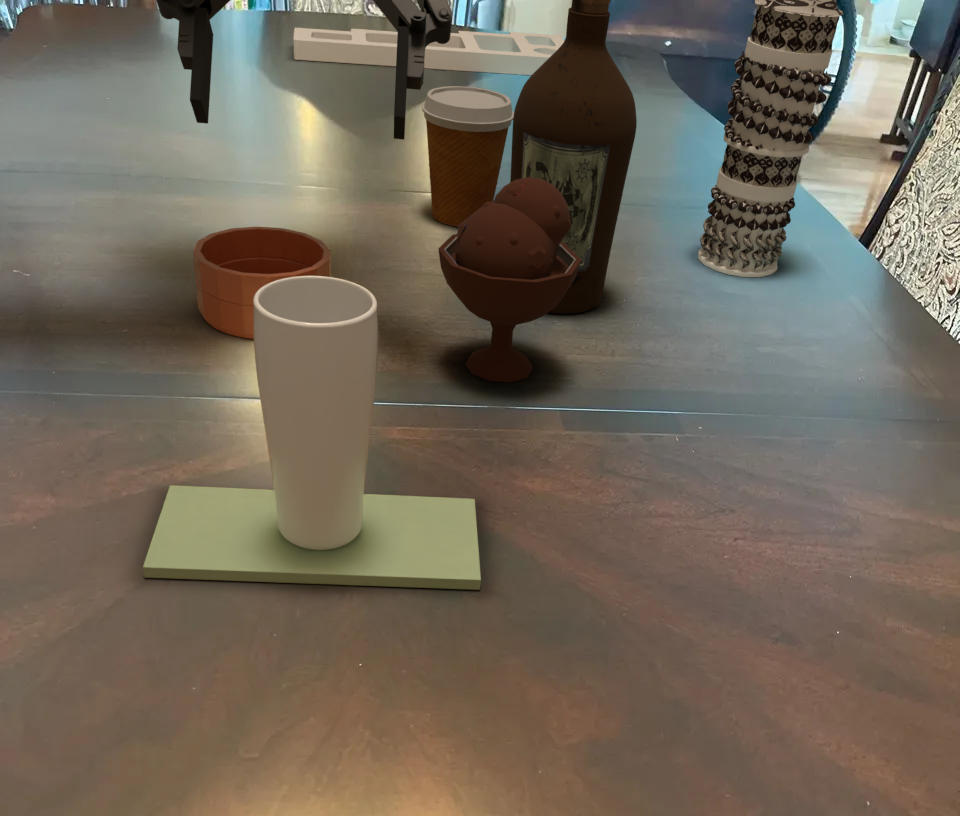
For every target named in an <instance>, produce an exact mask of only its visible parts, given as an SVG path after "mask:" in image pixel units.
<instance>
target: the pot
mask: <svg viewBox="0 0 960 816" xmlns="http://www.w3.org/2000/svg"><path fill="white" fill-rule="evenodd" d="M192 257H193V267H194V268H193V269H194V277H195V289H196V299H197V309H198V310H199V313H200V314H201V316H202V317H203V319H204V321H206V323H207V324H209V325H210V326H211V327H213V328H214V329H215V330H217V331H220V332H222V333H225V334H227V335H231V336H234V337H239V338H244V339H252V340H254V324H253V299H254V296H255V294H256V292H257V291H258V290H259V289H260V288H261V287H263V286H264V285H266V284H268V283H271V282H273V281H276V280H279V279H284V278H289V277H296V276H325V277H332V250H331V249H330V247H328V245H327V244H326V243H325V242H324V241H323V240H322V239H320V238H318V237H315V236H313V235H311V234H308V233H306V232H302V231H298V230H294V229H288V228H283V227H273V226H271V227H270V226H245V227H233V228H232V227H231V228H227V229H224V230H220V231H215V232H212V233H209V234H208V235H206V236H204V237H202V238H200V239H199V240H197V242H196V243H195V245H194V247H193V250H192Z"/></svg>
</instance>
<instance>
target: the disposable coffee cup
mask: <svg viewBox="0 0 960 816" xmlns="http://www.w3.org/2000/svg"><path fill="white" fill-rule="evenodd" d="M512 106H513V105H512V100H511V98H510V97H508V96H507V95H506V94H504V93H501V92H498V91H495V90H492V89H491V90H490V89H487V88H480V87H474V86H463V85H462V86H461V85H457V86H456V85H454V86H453V85H450V86H449V85H447V86H439V87H435V88H432V89H430V90H428V91H427V93H426V96H425V101H424V103H422V105H421V110H422V112H423V117H424V118H425V123H426V125H425V126H426V137H427V138H426V139H427V153H428V169H429V181H430V182H429V184H430V197H431V198H430V199H431V216H432V217H433V219H434V220H436V221H438V222H440V223H442V224H444V225H448V226H452V227H458V225H459V224H460V223H461V222H463V221H464V220H465V219H466V218H468V217H469V216H470V215H472V214H473V213H474V212H476V211H477V210H478V209H480V208H481V207H482V206H483V204H485V203H486V202H493V201H494V199H495V197H496V190H497V187H498V181H499V176H500V171H501V166H502V161H503V156H504V152H505V147H506V142H507V136H508V132H509V129H510V127H511V125H512V122H513V116H514V110H513V107H512Z"/></svg>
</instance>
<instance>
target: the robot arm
mask: <svg viewBox="0 0 960 816" xmlns="http://www.w3.org/2000/svg"><path fill="white" fill-rule="evenodd" d="M155 1H156V4H157V7H158V11H159V13H160V15H161V17H162V18H163V19H166V20H172V19H174V20H177V21H178V33H177V47H176V48H177V52H178V56H179V59H180V62H181V66H182V68H183V70H189V71H191V74H190V89H189V90H190V91H189V102H190V105H191V108H192V111H193V114H194V118H195V121H196V123H197V124H206V125H207V124H209V118H210V117H209V114H210V99H211V82H212V81H211V80H212V66H213V65H212V63H213V47H214V32H213V28H212V24H211V19H212V18H214V16H216V15H217V14H218V13H219V12H220V11H221V10H222V9H223V8H225V6H226V5H227V4H228V3H229V2H230V1H231V0H155ZM372 1H373V3H374V4H375V5H376V6H377V7H378V9H379V10H380V11H381V12H382V14H383V15H384V17H385V18H386V19H387V20H388V21H389V23H390V24H391V25H392V27H393V28H394V29H395V30H396V32H398V35H397V58H396V66H395V80H394V81H395V82H394V83H395V84H394V106H393V107H394V108H393V139H395V140H403V141H404V140H405V135H406V133H405V131H406V110H407V89H408V90H419V91H421V89H422V87H423V85H424V80H425V79H424V76H425V68H424V57H425V48H426V47H427V45H428V44H430V43H432V42H437V43H439V44H446V43H447V42H448V41H449V40H450V35H451V33H452V25H453V23H452V22H453V11H452V8H451V5H450V4H449V1H448V0H416V2H414V0H372ZM416 3H417V4H416Z"/></svg>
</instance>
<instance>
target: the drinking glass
mask: <svg viewBox="0 0 960 816" xmlns="http://www.w3.org/2000/svg"><path fill="white" fill-rule="evenodd" d="M378 318H379V317H378V301H377V298H376V297H375V295H374V294H373V293H372V292H371V290H369V289H368V288H366V287H364V286H362V285H360V284H358V283H356V282H353V281H350V280H347V279H343V278H338V277H333V276H331V277H325V276H296V277H289V278H284V279H279V280H276V281H273V282H271V283H268V284H266V285H264V286H263V287H261V288H260V289H259V290H258V291H257V292H256V294H255V296H254V299H253V324H254V339H253V349H254V360H255V372H256V380H257V387H258V394H259V401H260V408H261V414H262V419H263V420H262V421H263V426H264V433H265V439H266V446H267V454H268V459H269V467H270V473H271V481H272V487H273V488H272V489H273V490H274V495H275V505H276V522H277V526H278V529H279V531H280V533H281V534H282V536H283V537H284V538H285V539H286V540H288V541H289V542H290V543H292V544H294V545H296V546H299V547H302V548H306V549H311V550H329V549H334V548H338V547H341V546H344V545H346V544H348V543H350V542H351V541H352V540H354V539H355V538H356V537H357V535H358V534H359V532H360V531H361V528H362V524H363V499H364V494H365V488H366V478H367V468H368V461H369V460H368V459H369V449H370V442H371V435H372V434H371V432H372V424H373V423H372V422H373V415H374V407H375V399H376V398H375V397H376V389H377V377H378V363H379V362H378V361H379V319H378Z"/></svg>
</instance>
